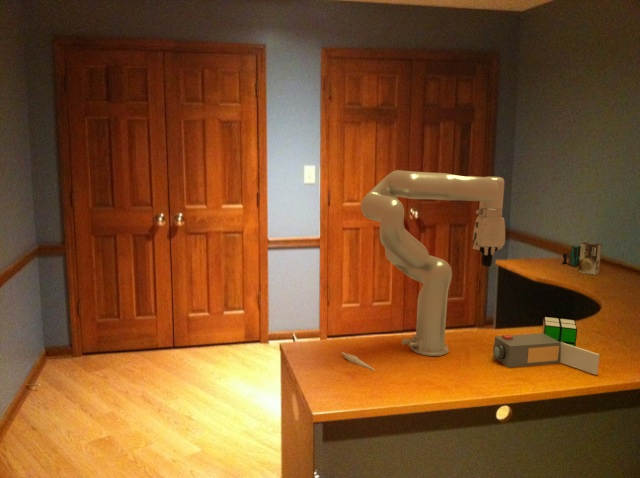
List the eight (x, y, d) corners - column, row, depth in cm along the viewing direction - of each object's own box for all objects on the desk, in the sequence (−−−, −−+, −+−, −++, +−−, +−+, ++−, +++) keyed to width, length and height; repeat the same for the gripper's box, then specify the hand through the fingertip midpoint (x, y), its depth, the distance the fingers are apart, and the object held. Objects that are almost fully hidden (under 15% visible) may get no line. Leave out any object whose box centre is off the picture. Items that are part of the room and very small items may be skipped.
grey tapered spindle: (338, 357, 184) (339, 351, 184) (344, 355, 186) (345, 349, 186) (371, 374, 173) (372, 368, 173) (378, 372, 175) (378, 366, 175)
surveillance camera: (566, 242, 334) (583, 245, 327) (564, 262, 337) (580, 266, 329) (561, 243, 331) (578, 246, 323) (559, 264, 333) (575, 267, 325)
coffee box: (599, 273, 311) (602, 244, 308) (595, 275, 307) (598, 245, 304) (581, 270, 317) (585, 241, 315) (577, 272, 313) (580, 243, 310)
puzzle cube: (572, 347, 198) (574, 320, 196) (574, 358, 189) (577, 329, 187) (541, 343, 201) (543, 316, 199) (542, 353, 192) (544, 325, 190)
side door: (598, 374, 175) (600, 353, 174) (595, 375, 174) (597, 354, 173) (560, 361, 185) (562, 341, 184) (557, 362, 184) (559, 342, 183)
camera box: (503, 368, 178) (505, 344, 177) (488, 357, 187) (489, 334, 186) (558, 363, 183) (561, 340, 182) (541, 353, 192) (543, 330, 191)
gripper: (476, 215, 189) (472, 269, 193) (516, 214, 193) (511, 267, 196) (465, 212, 197) (461, 264, 200) (503, 211, 200) (499, 262, 204)
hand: (486, 265), depth 198 cm, fingers closed
